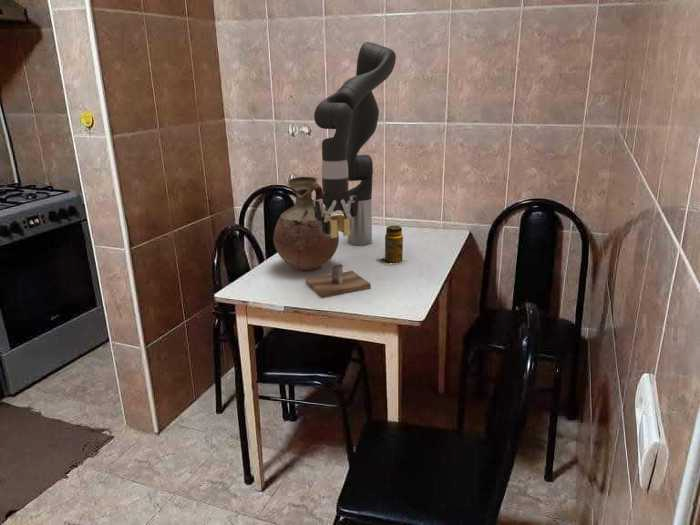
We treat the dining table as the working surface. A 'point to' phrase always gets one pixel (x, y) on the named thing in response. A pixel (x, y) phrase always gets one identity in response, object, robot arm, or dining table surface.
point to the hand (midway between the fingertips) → (336, 232)
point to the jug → (303, 229)
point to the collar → (338, 225)
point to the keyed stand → (337, 282)
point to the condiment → (393, 246)
